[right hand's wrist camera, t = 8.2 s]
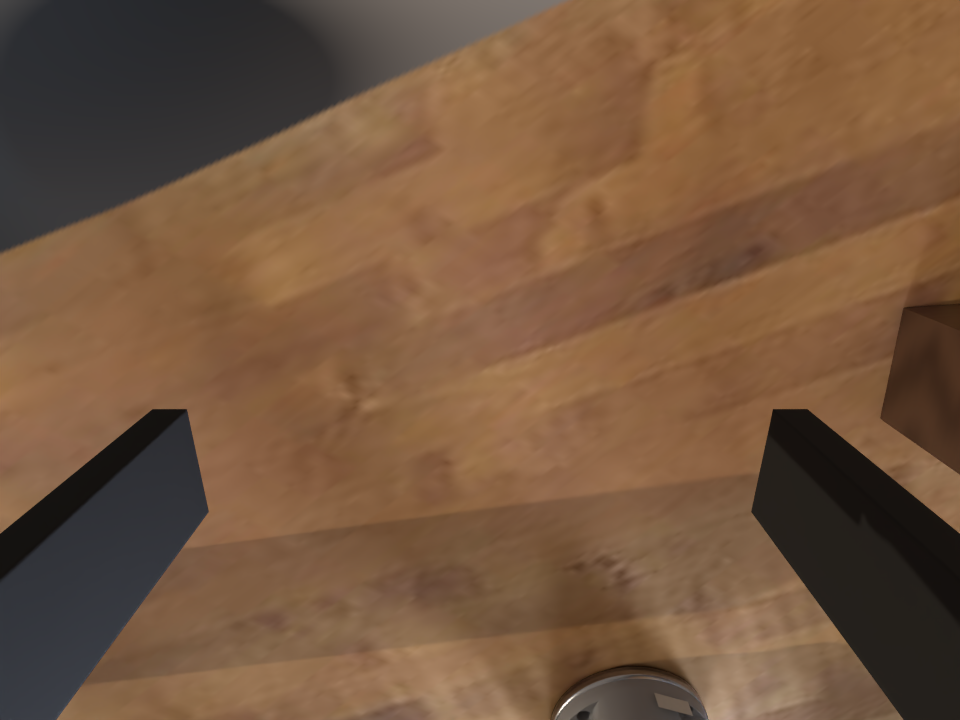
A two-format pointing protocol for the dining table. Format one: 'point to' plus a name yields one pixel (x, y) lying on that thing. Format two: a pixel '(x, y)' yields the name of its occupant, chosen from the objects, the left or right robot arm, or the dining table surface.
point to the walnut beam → (927, 381)
